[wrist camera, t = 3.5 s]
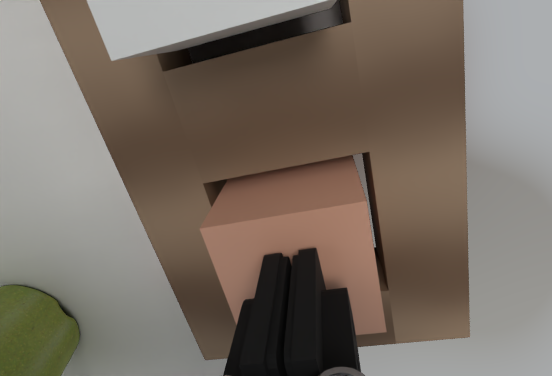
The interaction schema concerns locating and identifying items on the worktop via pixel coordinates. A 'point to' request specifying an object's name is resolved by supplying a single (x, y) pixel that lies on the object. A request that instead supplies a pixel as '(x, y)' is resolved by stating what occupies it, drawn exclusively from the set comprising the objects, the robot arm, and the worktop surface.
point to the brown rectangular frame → (298, 147)
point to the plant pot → (34, 333)
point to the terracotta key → (297, 232)
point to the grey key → (187, 21)
